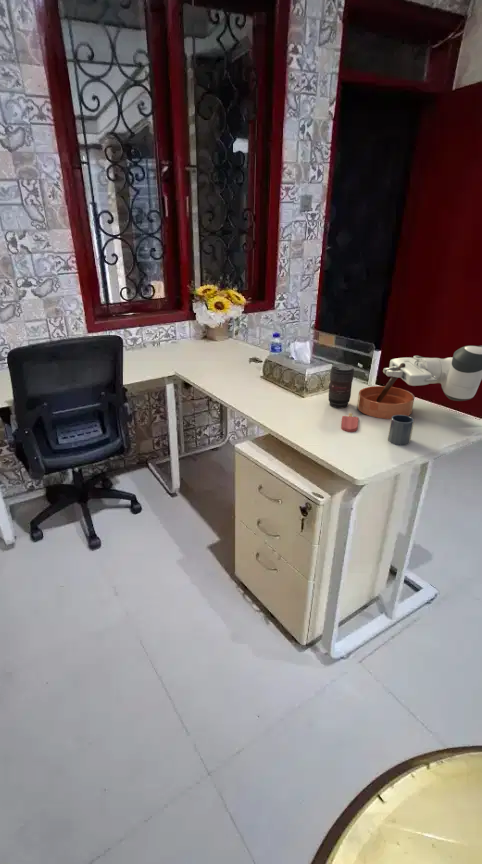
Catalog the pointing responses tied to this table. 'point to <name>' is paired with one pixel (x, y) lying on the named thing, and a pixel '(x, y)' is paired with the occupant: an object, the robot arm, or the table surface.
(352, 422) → the popsicle
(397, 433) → the cup
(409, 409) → the bowl
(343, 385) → the camera lens
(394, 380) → the stick
